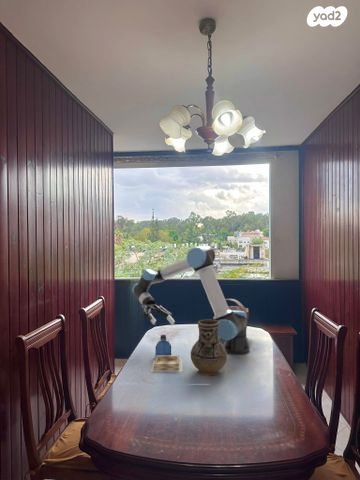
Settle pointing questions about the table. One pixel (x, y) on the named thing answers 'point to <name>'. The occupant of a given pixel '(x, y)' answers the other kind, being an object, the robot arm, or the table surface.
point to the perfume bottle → (163, 346)
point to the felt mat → (168, 370)
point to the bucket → (239, 309)
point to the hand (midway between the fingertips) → (164, 323)
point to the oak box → (166, 362)
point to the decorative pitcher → (208, 348)
